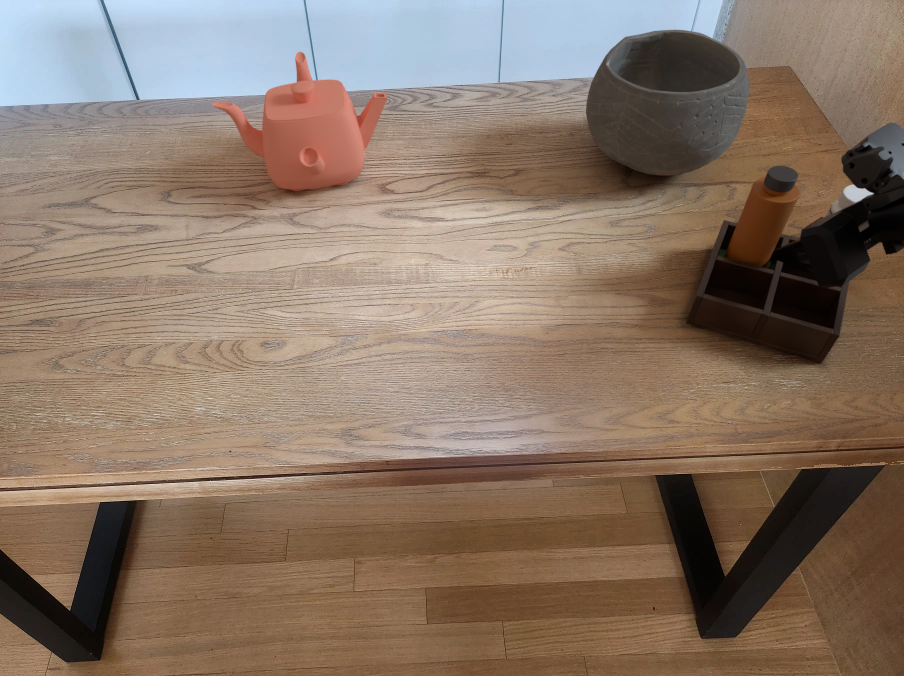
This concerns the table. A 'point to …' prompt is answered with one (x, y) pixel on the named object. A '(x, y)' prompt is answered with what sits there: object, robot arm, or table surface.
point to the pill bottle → (848, 198)
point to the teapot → (309, 131)
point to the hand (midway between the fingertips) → (802, 237)
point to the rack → (768, 303)
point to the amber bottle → (764, 217)
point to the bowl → (667, 101)
